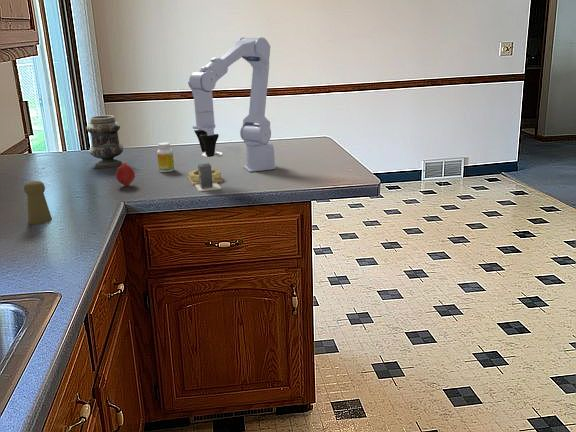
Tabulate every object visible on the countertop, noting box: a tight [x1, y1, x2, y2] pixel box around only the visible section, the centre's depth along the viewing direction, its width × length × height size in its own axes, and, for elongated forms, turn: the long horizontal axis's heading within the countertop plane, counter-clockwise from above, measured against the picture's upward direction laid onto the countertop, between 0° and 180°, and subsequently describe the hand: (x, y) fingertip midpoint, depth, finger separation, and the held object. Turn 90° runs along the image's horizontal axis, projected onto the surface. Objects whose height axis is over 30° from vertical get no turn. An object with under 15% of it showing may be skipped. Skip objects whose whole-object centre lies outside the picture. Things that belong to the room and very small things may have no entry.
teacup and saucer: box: [201, 145, 223, 157], centre depth 234 cm, size 9×8×4 cm
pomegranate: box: [115, 161, 136, 187], centre depth 192 cm, size 6×6×8 cm
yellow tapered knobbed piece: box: [23, 180, 53, 226], centre depth 161 cm, size 6×6×11 cm
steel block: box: [197, 162, 213, 189], centre depth 187 cm, size 4×4×7 cm
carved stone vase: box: [86, 114, 124, 169], centre depth 220 cm, size 12×12×18 cm
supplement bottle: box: [156, 141, 175, 173], centre depth 210 cm, size 5×5×10 cm
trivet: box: [194, 182, 222, 193], centre depth 188 cm, size 7×7×1 cm
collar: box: [188, 168, 222, 182], centre depth 197 cm, size 10×10×2 cm
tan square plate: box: [187, 175, 224, 186], centre depth 197 cm, size 10×10×1 cm
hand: (207, 154), depth 190 cm, fingers open, 7 cm apart
